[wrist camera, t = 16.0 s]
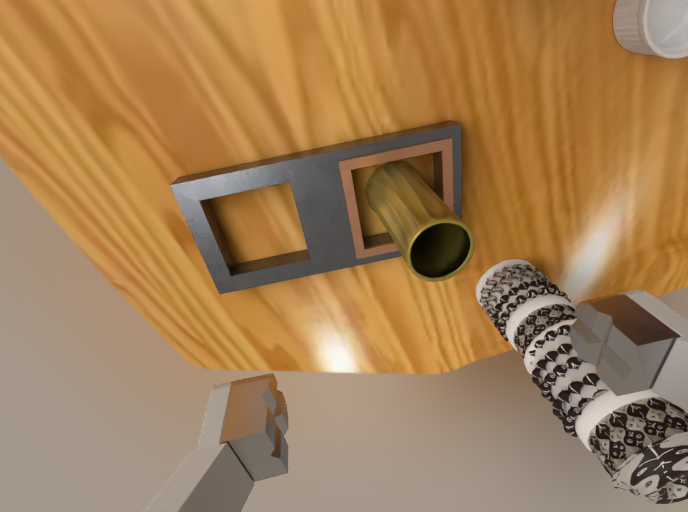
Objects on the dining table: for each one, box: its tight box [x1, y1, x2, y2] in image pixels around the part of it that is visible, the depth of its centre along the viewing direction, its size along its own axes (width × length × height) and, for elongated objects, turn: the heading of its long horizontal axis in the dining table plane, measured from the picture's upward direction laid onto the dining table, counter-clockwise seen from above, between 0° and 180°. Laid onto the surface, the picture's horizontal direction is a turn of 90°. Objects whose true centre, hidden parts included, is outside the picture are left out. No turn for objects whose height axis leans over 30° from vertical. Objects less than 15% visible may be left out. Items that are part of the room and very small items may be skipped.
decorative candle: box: [475, 258, 688, 504], centre depth 35 cm, size 9×9×25 cm
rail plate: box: [170, 120, 462, 294], centre depth 37 cm, size 13×28×3 cm, turn 100°
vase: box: [366, 162, 475, 282], centre depth 31 cm, size 6×6×14 cm
